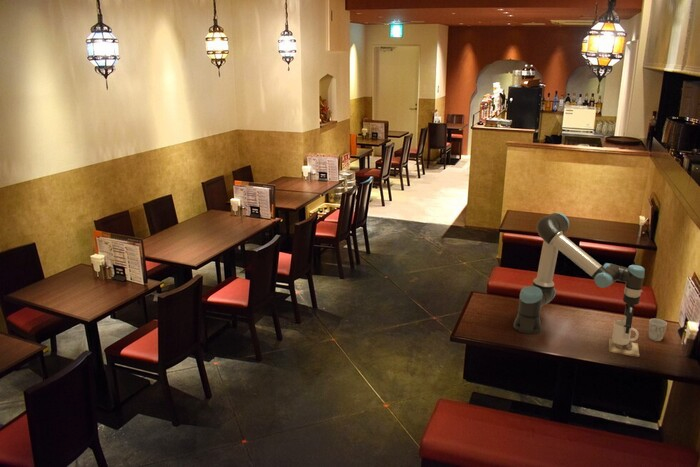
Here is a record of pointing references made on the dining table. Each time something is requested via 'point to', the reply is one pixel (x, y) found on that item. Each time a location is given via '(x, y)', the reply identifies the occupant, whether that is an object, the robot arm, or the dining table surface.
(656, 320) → the mug
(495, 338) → the dining table surface
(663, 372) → the dining table surface
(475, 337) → the dining table surface
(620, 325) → the mug
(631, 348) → the peg stand
